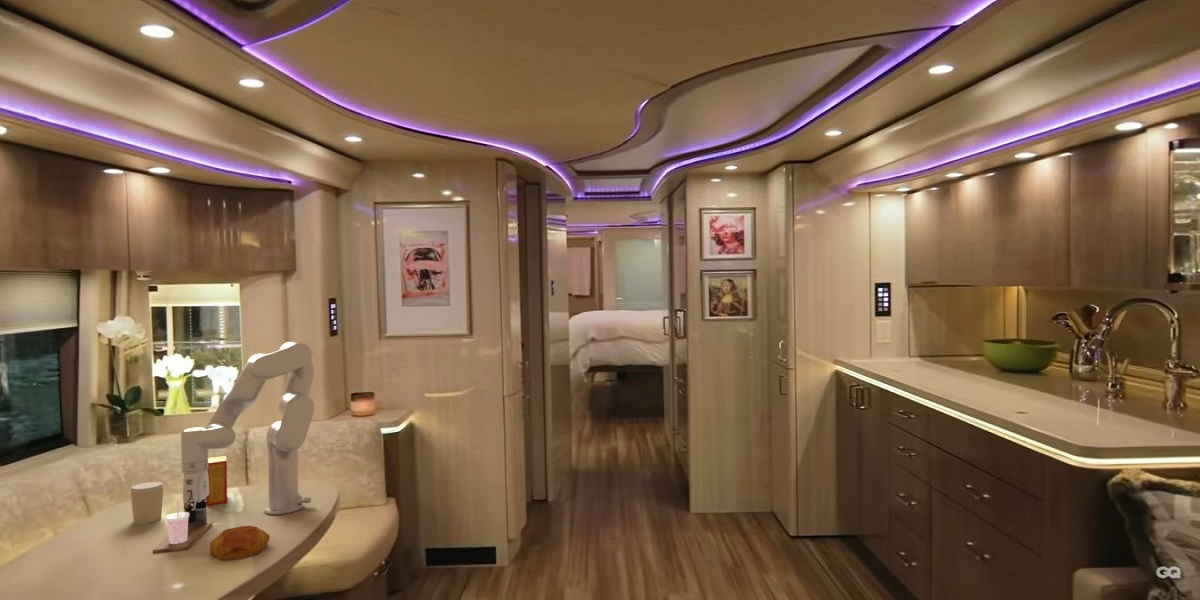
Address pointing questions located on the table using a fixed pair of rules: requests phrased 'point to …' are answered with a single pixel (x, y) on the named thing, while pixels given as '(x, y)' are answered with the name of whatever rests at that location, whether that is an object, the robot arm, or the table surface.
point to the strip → (193, 533)
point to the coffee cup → (147, 502)
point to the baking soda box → (217, 480)
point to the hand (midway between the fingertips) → (195, 517)
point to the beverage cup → (177, 526)
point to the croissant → (239, 542)
